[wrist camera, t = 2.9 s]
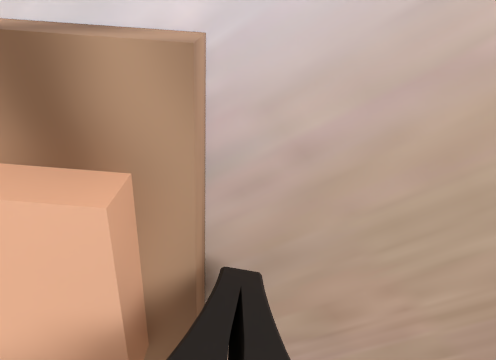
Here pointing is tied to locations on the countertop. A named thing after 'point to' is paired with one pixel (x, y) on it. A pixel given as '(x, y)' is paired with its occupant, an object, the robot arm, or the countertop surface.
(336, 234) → the countertop surface
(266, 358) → the robot arm
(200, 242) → the deck
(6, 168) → the tile
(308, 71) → the countertop surface
